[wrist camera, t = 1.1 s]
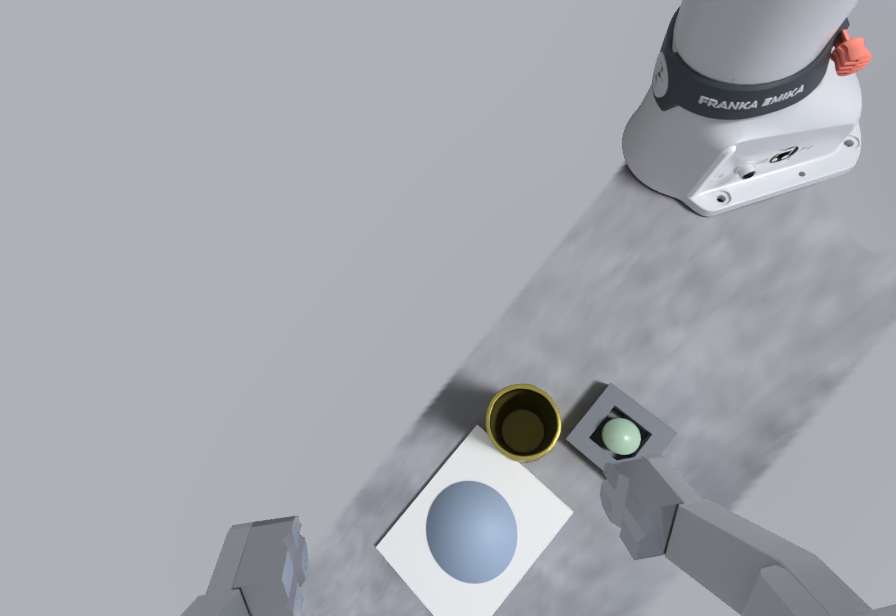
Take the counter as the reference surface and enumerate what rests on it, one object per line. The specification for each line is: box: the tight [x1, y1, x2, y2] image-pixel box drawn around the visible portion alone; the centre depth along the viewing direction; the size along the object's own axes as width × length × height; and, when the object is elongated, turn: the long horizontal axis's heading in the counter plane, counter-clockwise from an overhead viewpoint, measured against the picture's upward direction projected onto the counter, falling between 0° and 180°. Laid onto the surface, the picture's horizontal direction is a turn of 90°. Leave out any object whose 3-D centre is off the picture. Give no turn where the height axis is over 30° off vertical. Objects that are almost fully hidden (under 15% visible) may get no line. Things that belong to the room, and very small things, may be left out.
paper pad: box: [376, 424, 573, 616], centre depth 40 cm, size 16×12×1 cm
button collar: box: [565, 383, 677, 470], centre depth 39 cm, size 7×7×2 cm
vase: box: [486, 384, 561, 463], centre depth 35 cm, size 6×6×14 cm
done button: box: [601, 418, 641, 455], centre depth 38 cm, size 3×3×1 cm
